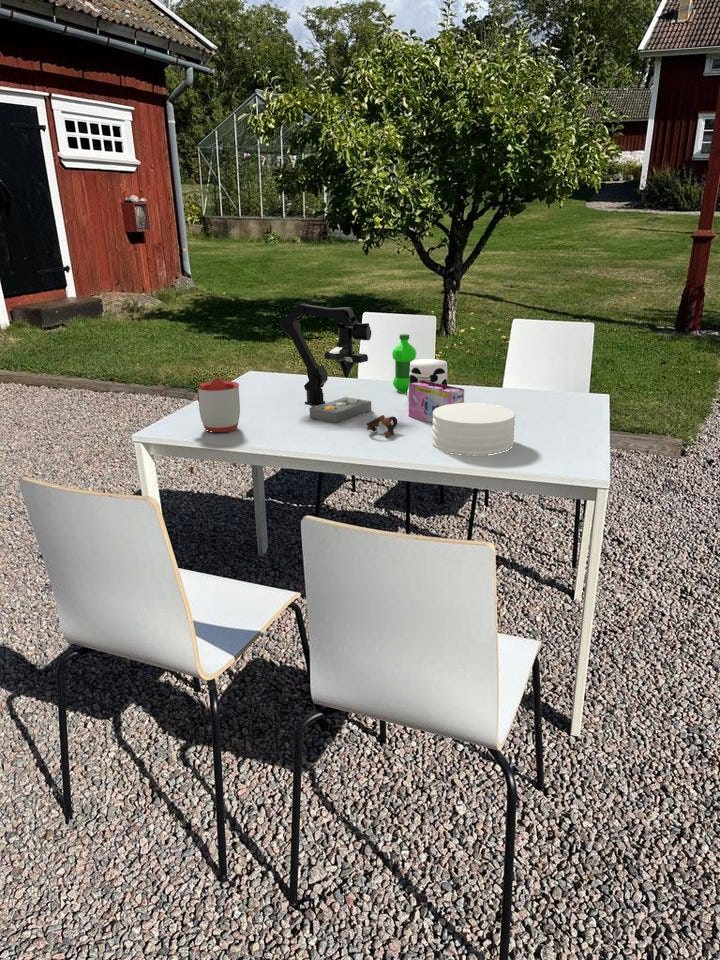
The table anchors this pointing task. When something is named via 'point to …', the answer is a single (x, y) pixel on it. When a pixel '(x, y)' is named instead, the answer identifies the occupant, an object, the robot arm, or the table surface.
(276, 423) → the table surface
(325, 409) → the amber button
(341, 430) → the table surface
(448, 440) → the plate stack
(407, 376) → the plastic bottle
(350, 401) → the cream button
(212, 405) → the citrus juicer
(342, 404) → the sage button
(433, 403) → the gum box
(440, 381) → the milk container
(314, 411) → the button panel
